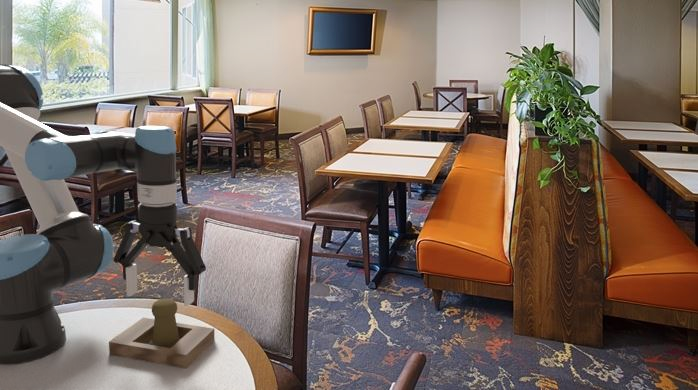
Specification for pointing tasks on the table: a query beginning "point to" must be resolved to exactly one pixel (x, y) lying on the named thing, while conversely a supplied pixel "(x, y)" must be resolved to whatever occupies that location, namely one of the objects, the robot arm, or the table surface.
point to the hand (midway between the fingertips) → (160, 298)
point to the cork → (165, 323)
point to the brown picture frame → (178, 355)
